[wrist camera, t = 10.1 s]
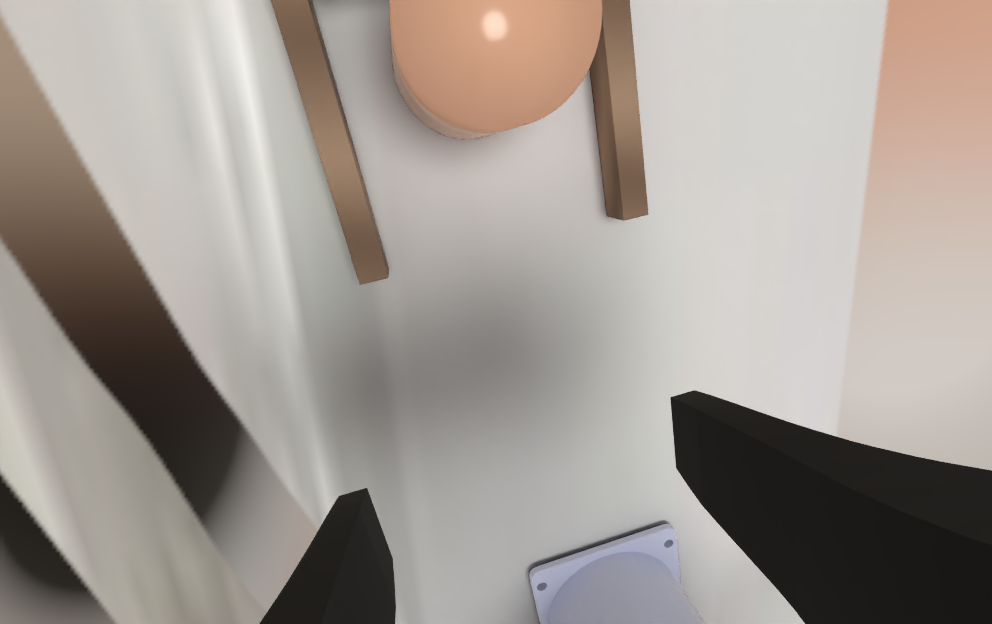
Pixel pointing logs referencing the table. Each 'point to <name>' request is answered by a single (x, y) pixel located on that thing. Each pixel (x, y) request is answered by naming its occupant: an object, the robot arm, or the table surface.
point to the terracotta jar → (490, 60)
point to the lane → (340, 162)
